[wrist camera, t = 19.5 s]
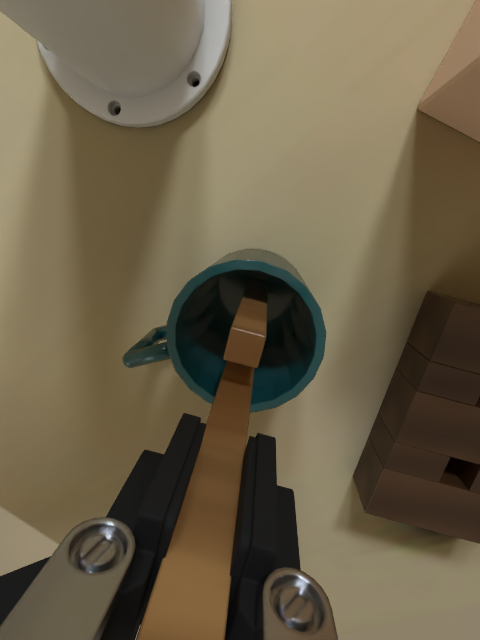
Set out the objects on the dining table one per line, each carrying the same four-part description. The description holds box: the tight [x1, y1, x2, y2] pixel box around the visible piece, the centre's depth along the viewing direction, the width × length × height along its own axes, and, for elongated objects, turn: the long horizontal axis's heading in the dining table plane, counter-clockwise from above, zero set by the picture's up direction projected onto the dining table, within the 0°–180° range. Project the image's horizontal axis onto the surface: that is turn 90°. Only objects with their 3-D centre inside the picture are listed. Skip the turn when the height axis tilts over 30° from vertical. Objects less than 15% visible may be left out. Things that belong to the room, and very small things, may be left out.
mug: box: [123, 249, 326, 412], centre depth 23 cm, size 12×8×9 cm
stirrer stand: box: [353, 291, 480, 544], centre depth 26 cm, size 16×10×4 cm, turn 166°
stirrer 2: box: [223, 279, 268, 368], centre depth 20 cm, size 1×1×13 cm
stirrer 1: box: [136, 361, 254, 640], centre depth 12 cm, size 1×1×13 cm
